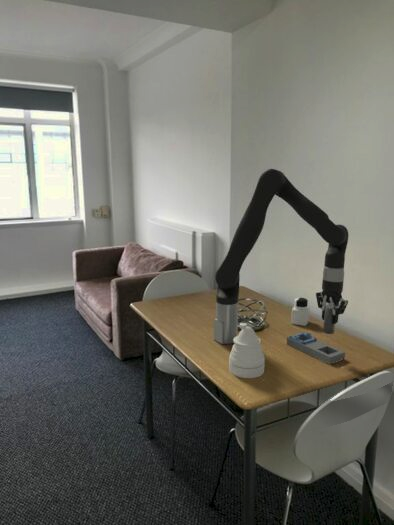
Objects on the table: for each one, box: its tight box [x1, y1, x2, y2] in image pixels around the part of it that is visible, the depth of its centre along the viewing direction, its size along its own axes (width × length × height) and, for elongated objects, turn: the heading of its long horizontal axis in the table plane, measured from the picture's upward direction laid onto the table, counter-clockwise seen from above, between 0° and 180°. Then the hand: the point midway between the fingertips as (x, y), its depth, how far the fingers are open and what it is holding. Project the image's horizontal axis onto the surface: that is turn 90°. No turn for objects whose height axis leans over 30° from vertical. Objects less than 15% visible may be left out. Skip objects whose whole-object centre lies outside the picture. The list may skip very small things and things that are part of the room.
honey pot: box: [228, 322, 266, 379], centre depth 154 cm, size 13×13×18 cm
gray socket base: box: [286, 331, 346, 365], centre depth 170 cm, size 23×9×5 cm, turn 32°
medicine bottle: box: [290, 297, 310, 327], centre depth 201 cm, size 7×7×12 cm
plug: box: [322, 302, 336, 335], centre depth 162 cm, size 4×4×12 cm
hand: (329, 321), depth 162 cm, fingers closed on plug, 4 cm apart
